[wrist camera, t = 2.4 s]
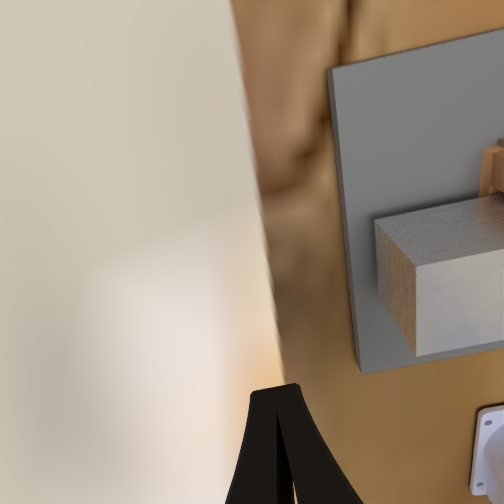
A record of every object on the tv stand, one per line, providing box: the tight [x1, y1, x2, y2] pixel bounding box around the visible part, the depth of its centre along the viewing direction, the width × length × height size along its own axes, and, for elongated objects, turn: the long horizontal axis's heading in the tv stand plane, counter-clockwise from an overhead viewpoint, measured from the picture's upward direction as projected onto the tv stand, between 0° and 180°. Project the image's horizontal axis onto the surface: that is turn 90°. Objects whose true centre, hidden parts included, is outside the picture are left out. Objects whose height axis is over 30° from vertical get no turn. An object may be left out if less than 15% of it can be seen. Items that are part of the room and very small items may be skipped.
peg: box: [374, 193, 504, 357], centre depth 15 cm, size 4×8×4 cm, turn 102°
